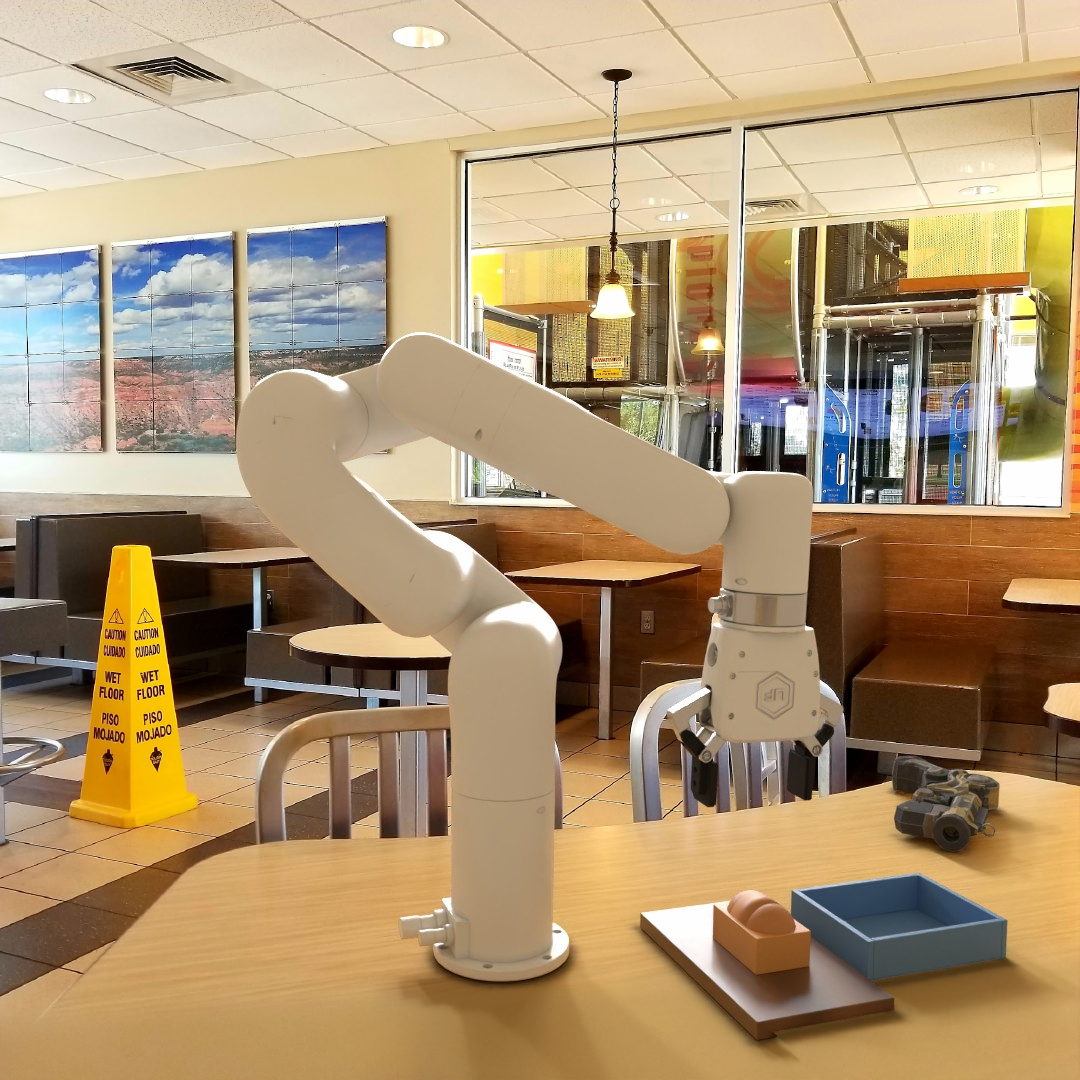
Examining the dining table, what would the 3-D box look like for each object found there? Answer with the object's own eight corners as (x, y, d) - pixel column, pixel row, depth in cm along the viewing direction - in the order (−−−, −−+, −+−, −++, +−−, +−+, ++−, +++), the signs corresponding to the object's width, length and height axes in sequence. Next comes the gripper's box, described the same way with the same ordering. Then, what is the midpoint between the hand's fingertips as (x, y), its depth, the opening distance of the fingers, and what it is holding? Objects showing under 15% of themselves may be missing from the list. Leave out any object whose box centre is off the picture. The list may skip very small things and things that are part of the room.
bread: (755, 975, 92) (757, 918, 92) (712, 937, 100) (713, 885, 99) (810, 966, 94) (811, 910, 94) (763, 930, 101) (764, 878, 101)
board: (756, 1040, 84) (757, 1022, 84) (639, 927, 105) (640, 912, 105) (894, 1015, 89) (895, 997, 89) (756, 911, 109) (756, 896, 109)
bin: (867, 986, 94) (868, 941, 93) (790, 929, 105) (791, 889, 105) (1006, 962, 99) (1007, 919, 98) (918, 910, 110) (919, 872, 110)
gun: (861, 799, 132) (993, 821, 125) (897, 752, 154) (1010, 768, 148) (860, 837, 132) (991, 860, 125) (895, 784, 155) (1008, 801, 148)
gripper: (694, 617, 89) (684, 819, 90) (871, 616, 95) (859, 806, 96) (656, 605, 96) (647, 792, 97) (822, 604, 102) (811, 782, 103)
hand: (752, 799), depth 96 cm, fingers open, 9 cm apart
